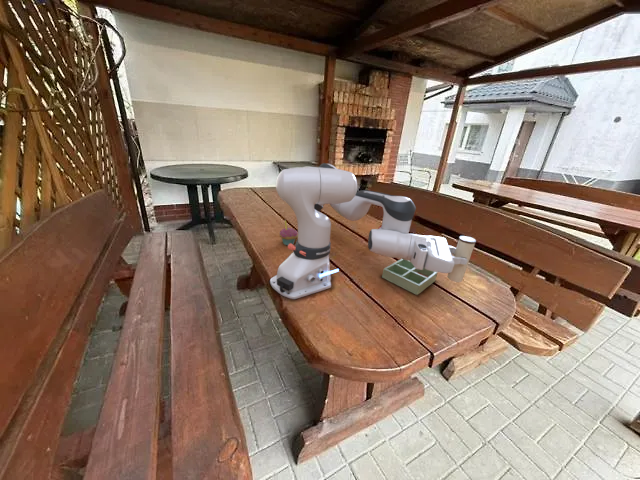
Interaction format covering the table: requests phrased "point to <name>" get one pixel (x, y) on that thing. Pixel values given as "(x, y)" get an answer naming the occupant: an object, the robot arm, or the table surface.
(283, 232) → the cupcake
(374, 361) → the table surface
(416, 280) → the compartment tray
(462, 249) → the capped cylinder
